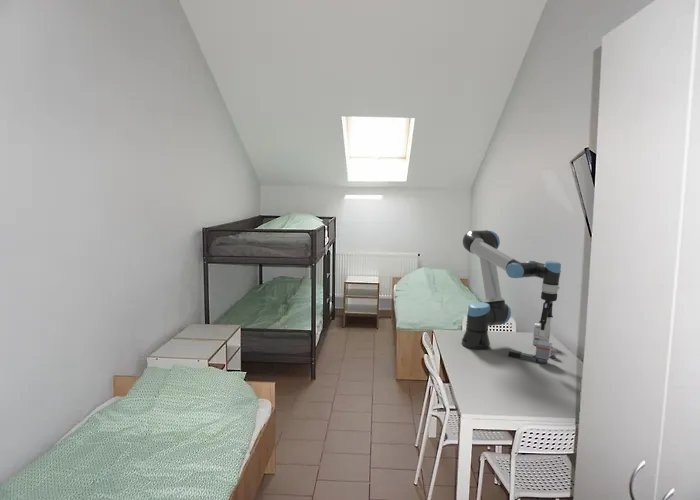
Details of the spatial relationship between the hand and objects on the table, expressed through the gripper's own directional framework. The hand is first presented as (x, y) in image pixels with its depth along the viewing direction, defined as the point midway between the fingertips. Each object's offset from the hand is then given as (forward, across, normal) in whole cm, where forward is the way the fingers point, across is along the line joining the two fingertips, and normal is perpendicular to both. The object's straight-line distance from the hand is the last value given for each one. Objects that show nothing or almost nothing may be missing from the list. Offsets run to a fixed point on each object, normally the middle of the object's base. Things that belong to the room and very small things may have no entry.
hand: (544, 332), depth 264 cm
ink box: (+16, +31, +5) cm, 35 cm away
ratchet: (+16, 0, +6) cm, 17 cm away
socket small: (+16, +12, -4) cm, 20 cm away
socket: (+13, 0, -1) cm, 13 cm away
